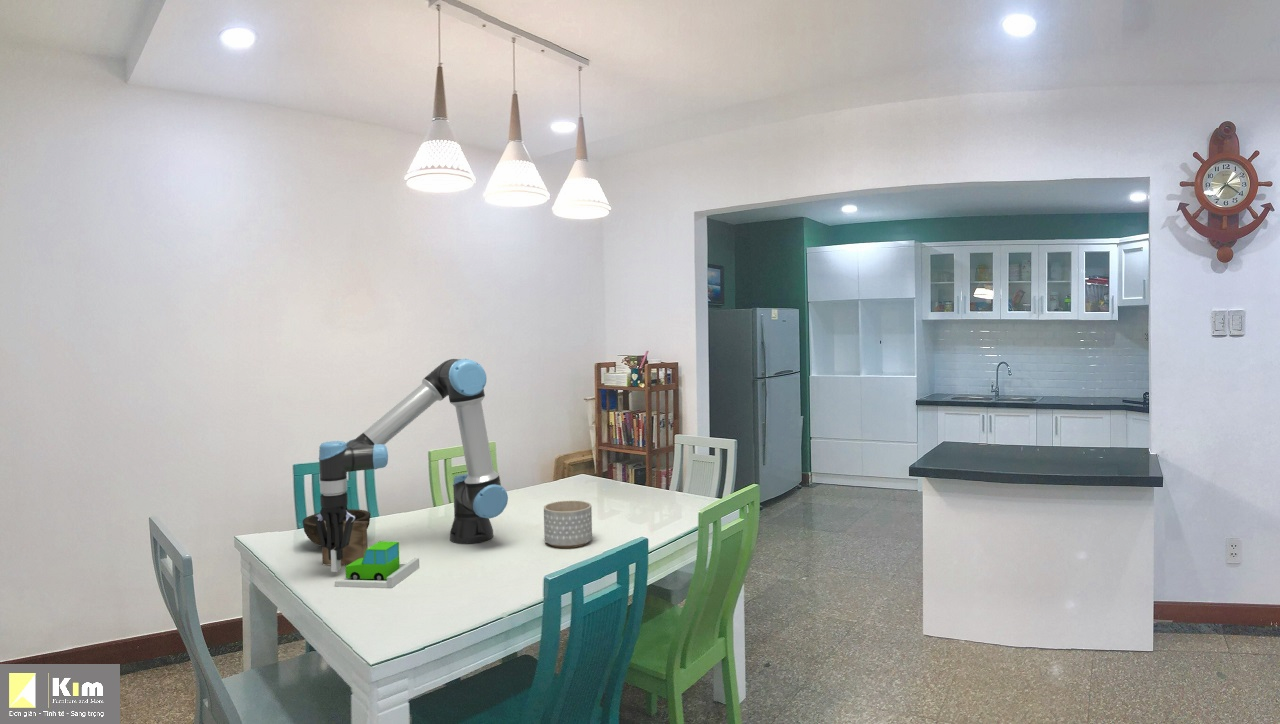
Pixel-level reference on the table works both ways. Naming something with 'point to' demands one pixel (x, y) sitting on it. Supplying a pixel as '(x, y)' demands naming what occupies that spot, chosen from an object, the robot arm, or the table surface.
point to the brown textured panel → (351, 544)
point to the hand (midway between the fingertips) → (336, 570)
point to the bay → (391, 580)
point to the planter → (567, 523)
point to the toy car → (375, 562)
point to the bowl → (311, 526)
